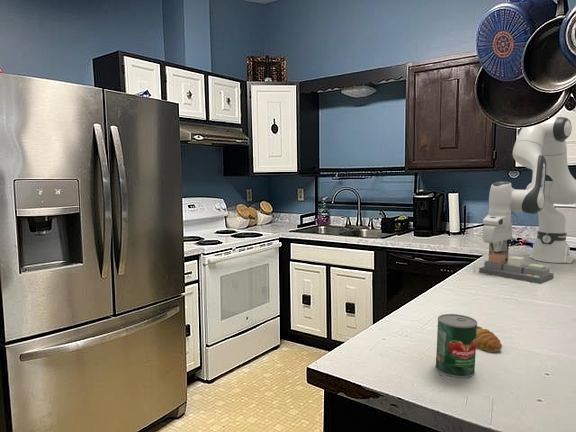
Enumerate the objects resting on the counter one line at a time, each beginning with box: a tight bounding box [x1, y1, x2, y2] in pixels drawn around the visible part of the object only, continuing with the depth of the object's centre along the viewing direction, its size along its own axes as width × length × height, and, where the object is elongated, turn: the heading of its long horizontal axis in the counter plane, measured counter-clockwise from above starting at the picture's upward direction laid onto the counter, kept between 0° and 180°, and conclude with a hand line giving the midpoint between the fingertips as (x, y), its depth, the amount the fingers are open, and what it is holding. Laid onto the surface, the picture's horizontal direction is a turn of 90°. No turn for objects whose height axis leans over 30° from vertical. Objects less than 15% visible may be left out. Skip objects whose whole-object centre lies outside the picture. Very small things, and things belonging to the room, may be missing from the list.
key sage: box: [527, 263, 547, 270], centre depth 173 cm, size 5×5×4 cm
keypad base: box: [478, 259, 555, 285], centre depth 180 cm, size 14×24×4 cm, turn 40°
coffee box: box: [488, 239, 510, 262], centre depth 199 cm, size 9×6×16 cm
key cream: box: [508, 255, 526, 267], centre depth 179 cm, size 5×5×4 cm
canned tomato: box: [435, 313, 478, 379], centre depth 92 cm, size 8×8×11 cm
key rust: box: [488, 253, 505, 264], centre depth 185 cm, size 5×5×4 cm
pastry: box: [476, 325, 503, 353], centre depth 106 cm, size 9×7×4 cm
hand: (497, 251), depth 185 cm, fingers closed
